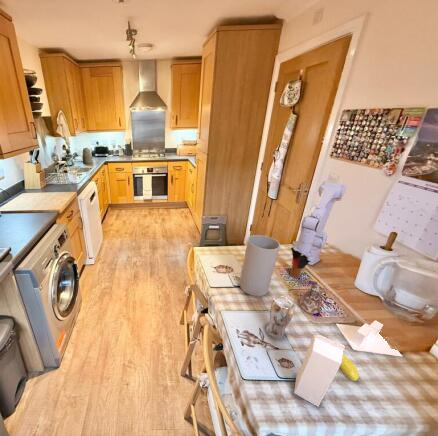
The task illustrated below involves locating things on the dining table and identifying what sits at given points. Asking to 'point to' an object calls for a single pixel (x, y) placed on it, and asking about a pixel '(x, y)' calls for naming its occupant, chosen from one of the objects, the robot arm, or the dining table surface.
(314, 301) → the figurine
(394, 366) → the dining table surface
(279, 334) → the beer glass
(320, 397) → the milk
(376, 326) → the napkin holder
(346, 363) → the lemon
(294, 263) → the spice lid
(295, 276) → the spice jar
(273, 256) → the cylinder vase
